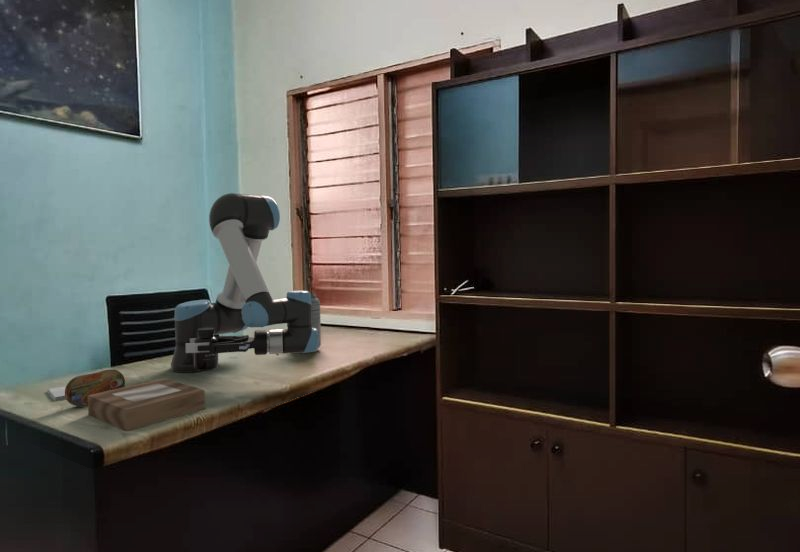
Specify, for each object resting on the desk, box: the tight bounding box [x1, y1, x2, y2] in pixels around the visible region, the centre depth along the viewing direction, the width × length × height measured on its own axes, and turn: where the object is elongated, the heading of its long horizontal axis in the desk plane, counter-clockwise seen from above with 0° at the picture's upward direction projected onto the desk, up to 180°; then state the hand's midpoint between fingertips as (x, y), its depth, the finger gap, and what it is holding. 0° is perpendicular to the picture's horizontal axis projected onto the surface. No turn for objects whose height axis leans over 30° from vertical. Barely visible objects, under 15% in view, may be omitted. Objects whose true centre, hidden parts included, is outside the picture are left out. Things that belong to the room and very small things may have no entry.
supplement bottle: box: [194, 328, 219, 371], centre depth 151 cm, size 7×7×12 cm
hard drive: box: [47, 385, 67, 402], centre depth 147 cm, size 2×8×12 cm
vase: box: [305, 293, 322, 354], centre depth 203 cm, size 12×12×23 cm
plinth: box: [87, 378, 206, 432], centre depth 130 cm, size 20×20×5 cm
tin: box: [65, 369, 126, 408], centre depth 138 cm, size 15×3×8 cm, turn 149°
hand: (188, 345), depth 150 cm, fingers closed on supplement bottle, 7 cm apart
